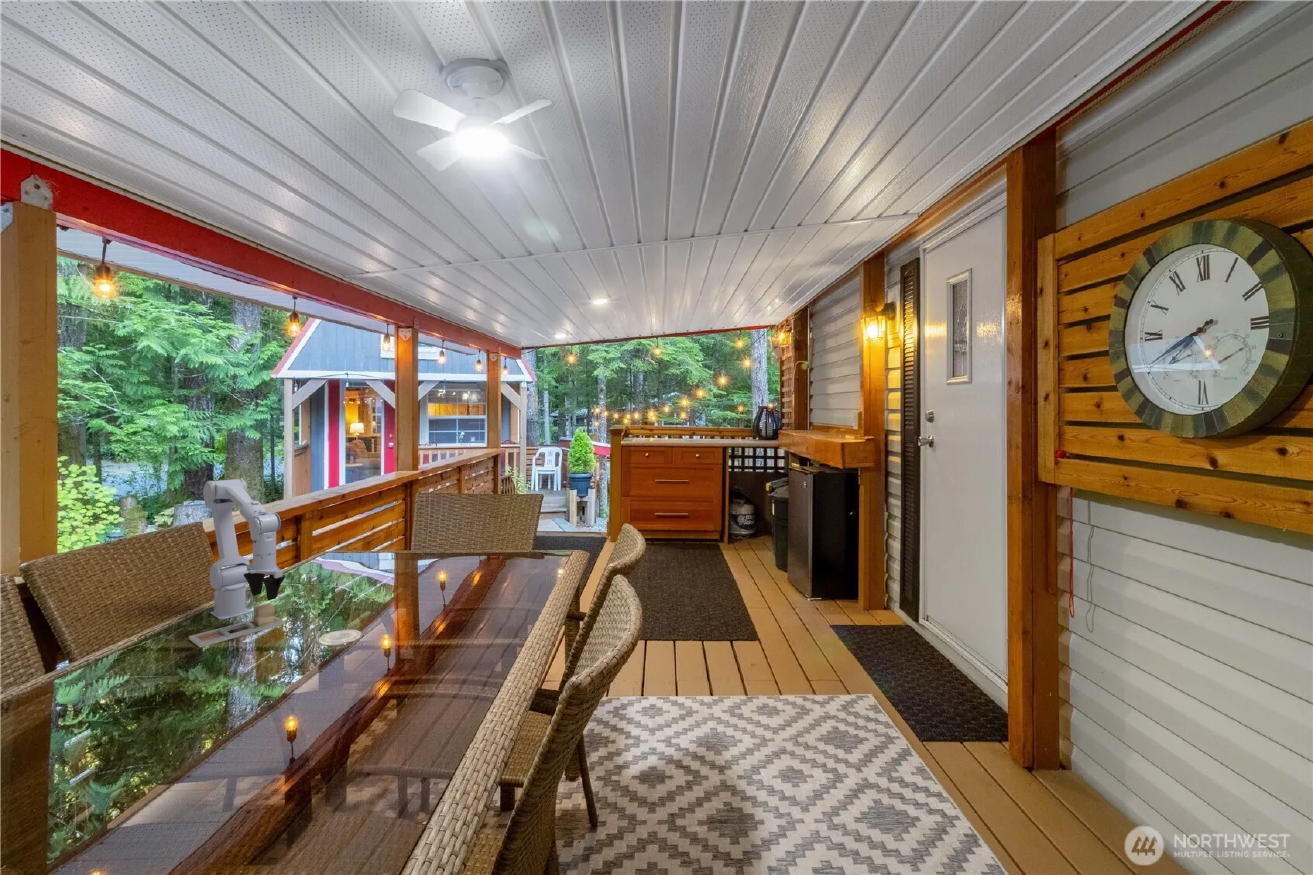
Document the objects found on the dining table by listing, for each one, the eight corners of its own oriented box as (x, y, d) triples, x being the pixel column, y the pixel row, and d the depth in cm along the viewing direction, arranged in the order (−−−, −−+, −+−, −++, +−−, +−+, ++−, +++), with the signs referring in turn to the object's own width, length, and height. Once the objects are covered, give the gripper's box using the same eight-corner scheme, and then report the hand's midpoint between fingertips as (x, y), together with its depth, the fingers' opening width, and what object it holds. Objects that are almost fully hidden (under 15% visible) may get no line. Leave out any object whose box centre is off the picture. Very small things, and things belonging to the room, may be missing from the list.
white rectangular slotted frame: (189, 639, 149) (189, 636, 149) (272, 617, 166) (272, 614, 166) (199, 647, 145) (199, 644, 144) (283, 624, 162) (283, 621, 162)
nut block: (253, 625, 160) (253, 606, 160) (268, 621, 164) (268, 602, 163) (258, 628, 158) (258, 609, 158) (274, 624, 161) (274, 605, 161)
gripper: (235, 553, 158) (235, 596, 158) (264, 560, 152) (264, 605, 153) (260, 547, 164) (260, 589, 165) (290, 554, 159) (289, 597, 159)
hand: (264, 596), depth 159 cm, fingers open, 7 cm apart
